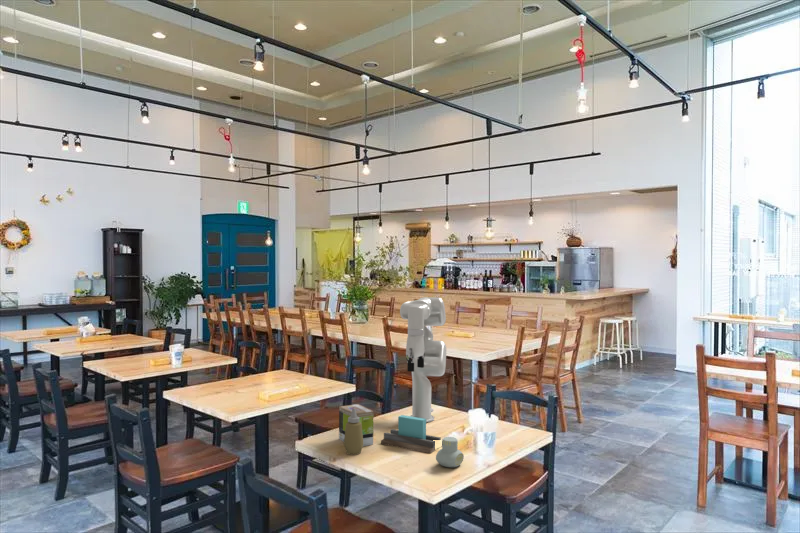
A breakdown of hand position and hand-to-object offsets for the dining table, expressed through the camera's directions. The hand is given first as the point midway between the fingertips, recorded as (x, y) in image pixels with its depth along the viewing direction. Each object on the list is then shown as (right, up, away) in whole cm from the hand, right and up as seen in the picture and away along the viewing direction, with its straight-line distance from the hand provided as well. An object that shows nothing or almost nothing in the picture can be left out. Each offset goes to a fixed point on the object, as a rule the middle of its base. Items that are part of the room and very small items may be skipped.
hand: (415, 369), depth 243 cm
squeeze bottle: (-26, -29, -27) cm, 48 cm away
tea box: (-27, -30, -13) cm, 42 cm away
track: (-2, -29, -16) cm, 33 cm away
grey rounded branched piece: (+12, -29, -40) cm, 51 cm away
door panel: (-2, -28, -16) cm, 32 cm away
